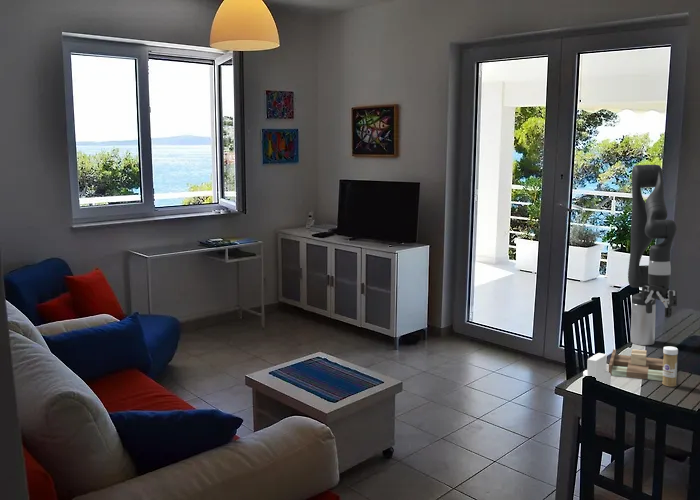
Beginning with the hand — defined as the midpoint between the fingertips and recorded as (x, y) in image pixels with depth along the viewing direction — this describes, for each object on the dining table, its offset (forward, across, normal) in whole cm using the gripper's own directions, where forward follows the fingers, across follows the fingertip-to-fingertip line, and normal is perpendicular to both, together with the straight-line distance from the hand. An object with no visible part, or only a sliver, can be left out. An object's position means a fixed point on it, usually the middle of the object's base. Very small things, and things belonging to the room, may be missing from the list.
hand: (658, 315), depth 235 cm
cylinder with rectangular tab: (+21, -8, +37) cm, 43 cm away
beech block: (+18, +2, +7) cm, 19 cm away
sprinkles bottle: (+21, -16, +12) cm, 29 cm away
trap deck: (+20, 0, +9) cm, 22 cm away
